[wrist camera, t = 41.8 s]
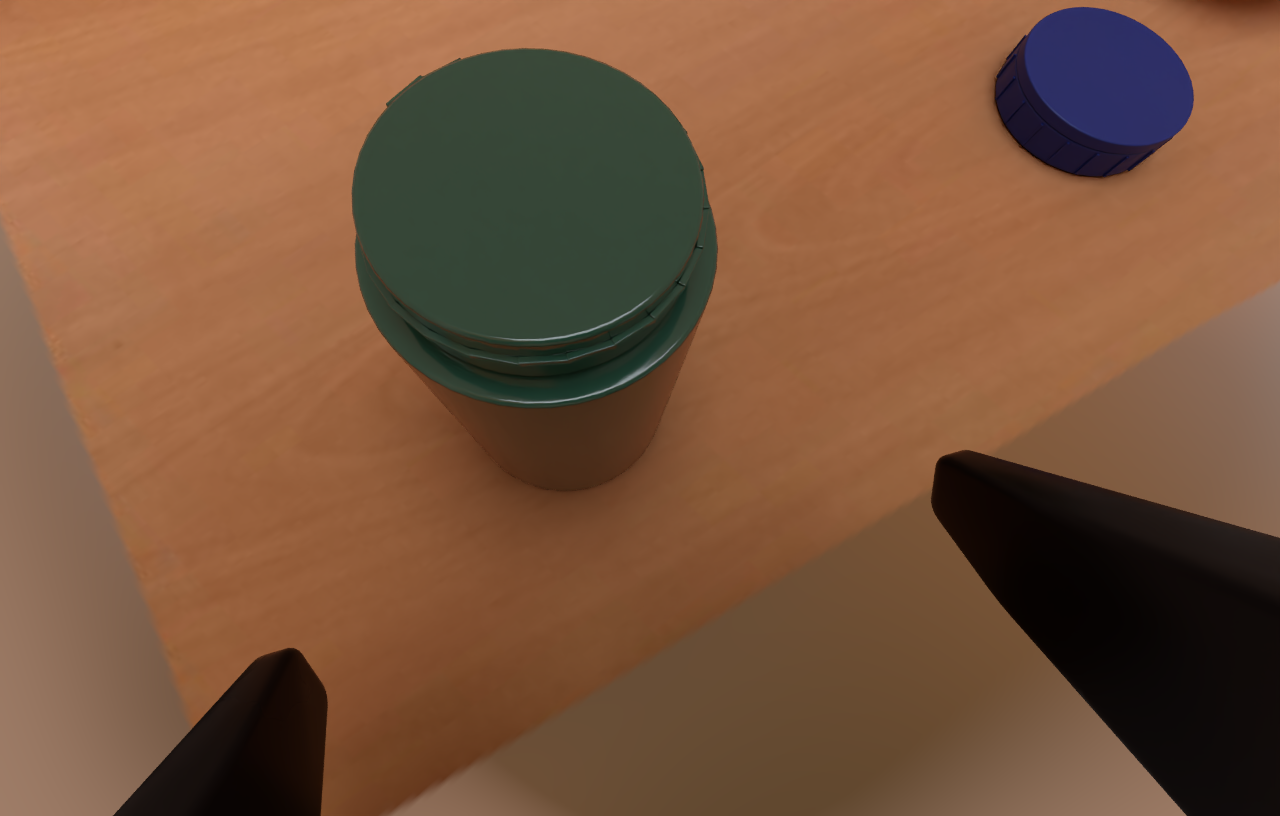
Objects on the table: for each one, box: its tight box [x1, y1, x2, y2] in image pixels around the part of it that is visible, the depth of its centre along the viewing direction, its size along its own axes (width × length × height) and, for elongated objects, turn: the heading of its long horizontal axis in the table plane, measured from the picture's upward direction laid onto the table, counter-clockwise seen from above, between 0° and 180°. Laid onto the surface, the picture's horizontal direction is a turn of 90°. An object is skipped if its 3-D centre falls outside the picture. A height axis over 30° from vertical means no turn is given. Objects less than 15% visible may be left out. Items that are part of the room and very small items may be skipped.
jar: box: [352, 48, 718, 491], centre depth 14 cm, size 6×6×11 cm
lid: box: [995, 7, 1194, 177], centre depth 24 cm, size 7×7×2 cm
